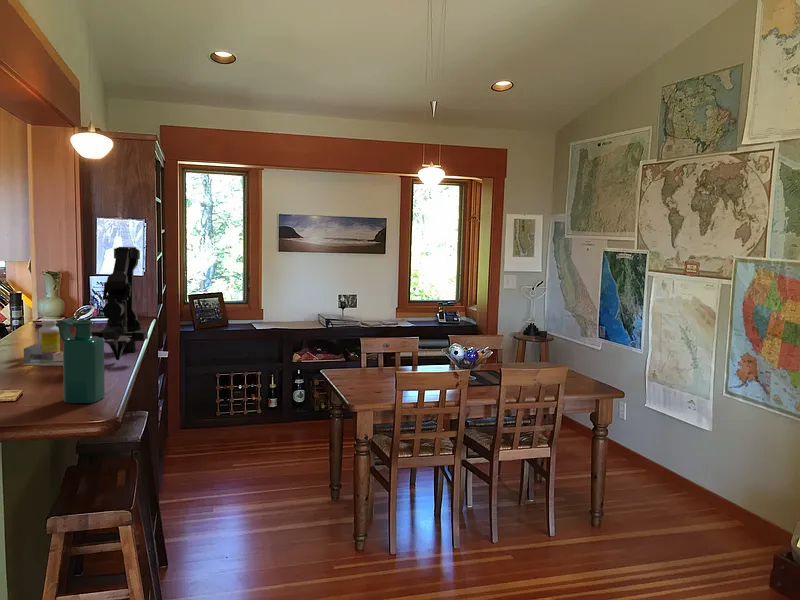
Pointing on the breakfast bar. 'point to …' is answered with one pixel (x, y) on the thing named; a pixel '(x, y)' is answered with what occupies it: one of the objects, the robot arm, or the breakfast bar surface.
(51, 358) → the track
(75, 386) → the pitcher
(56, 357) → the thick grey end plate
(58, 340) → the supplement bottle
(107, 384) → the breakfast bar surface
